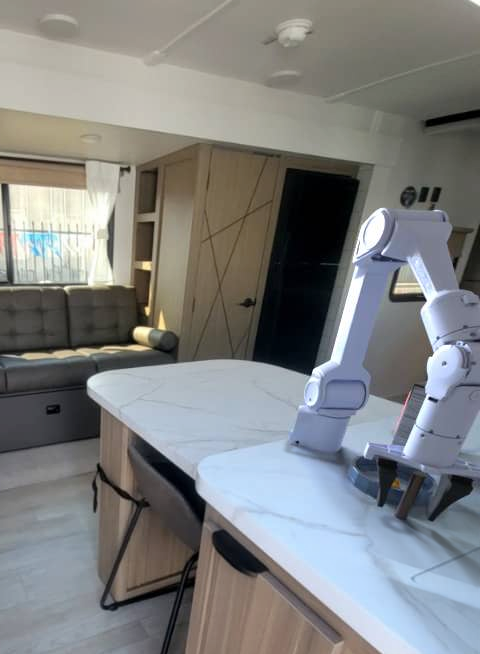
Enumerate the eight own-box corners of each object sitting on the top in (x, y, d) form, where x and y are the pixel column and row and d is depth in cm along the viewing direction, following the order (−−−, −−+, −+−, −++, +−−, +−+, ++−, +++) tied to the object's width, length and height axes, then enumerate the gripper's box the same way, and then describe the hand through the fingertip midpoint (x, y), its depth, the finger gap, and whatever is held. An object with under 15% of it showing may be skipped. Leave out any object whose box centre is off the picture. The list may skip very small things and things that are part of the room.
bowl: (344, 498, 68) (352, 478, 67) (344, 467, 78) (351, 448, 76) (433, 522, 63) (443, 501, 61) (421, 485, 73) (430, 466, 71)
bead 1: (386, 475, 71) (387, 485, 70) (400, 476, 70) (401, 486, 69) (384, 479, 72) (384, 490, 71) (398, 480, 71) (398, 491, 70)
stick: (382, 523, 63) (403, 473, 58) (388, 515, 64) (409, 465, 60) (406, 534, 60) (430, 482, 56) (412, 525, 62) (435, 474, 58)
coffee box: (408, 449, 86) (439, 376, 79) (443, 462, 81) (478, 386, 74) (383, 457, 82) (413, 382, 75) (417, 472, 77) (453, 393, 70)
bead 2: (399, 480, 68) (403, 489, 69) (386, 479, 70) (389, 488, 71) (395, 488, 67) (399, 497, 68) (382, 487, 69) (385, 496, 70)
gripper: (379, 427, 55) (349, 508, 61) (520, 455, 49) (471, 543, 55) (376, 410, 61) (349, 486, 67) (502, 433, 54) (459, 515, 60)
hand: (403, 510), depth 61 cm, fingers open, 6 cm apart
